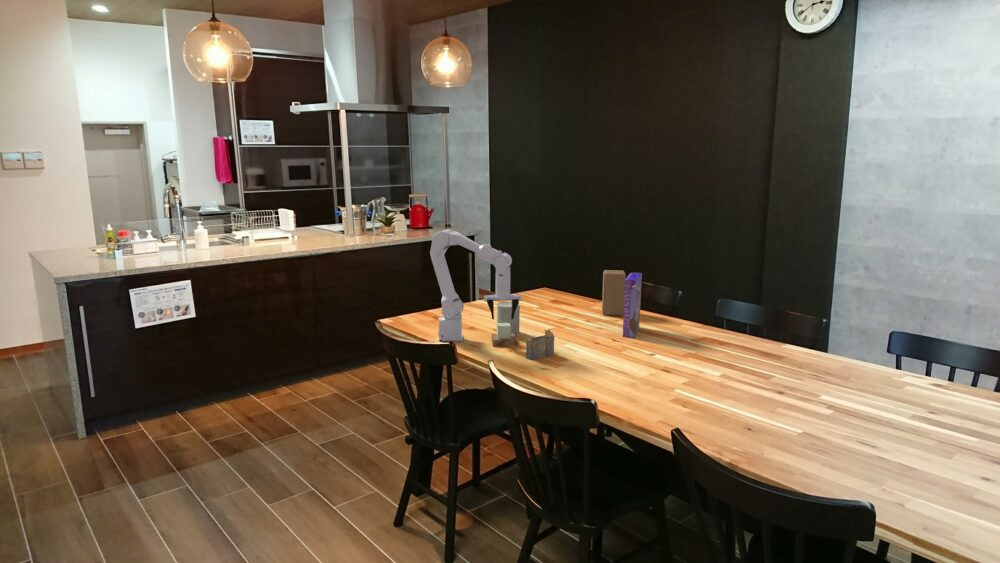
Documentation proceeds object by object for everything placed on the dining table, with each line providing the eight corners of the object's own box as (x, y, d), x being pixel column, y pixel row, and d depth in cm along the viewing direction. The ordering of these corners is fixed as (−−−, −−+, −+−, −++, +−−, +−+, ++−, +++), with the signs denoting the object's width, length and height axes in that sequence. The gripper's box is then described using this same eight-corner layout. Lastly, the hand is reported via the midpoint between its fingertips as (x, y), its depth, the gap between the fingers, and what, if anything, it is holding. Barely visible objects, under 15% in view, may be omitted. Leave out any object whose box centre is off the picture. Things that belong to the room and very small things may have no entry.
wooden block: (601, 310, 302) (603, 269, 298) (623, 311, 300) (624, 270, 297) (602, 315, 292) (603, 273, 288) (624, 316, 291) (625, 273, 287)
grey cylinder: (520, 330, 266) (521, 302, 264) (518, 336, 257) (518, 307, 255) (498, 329, 268) (498, 301, 265) (495, 335, 258) (495, 306, 256)
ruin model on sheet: (548, 353, 237) (548, 328, 235) (553, 355, 234) (554, 330, 232) (525, 359, 230) (525, 333, 228) (530, 361, 228) (531, 335, 226)
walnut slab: (492, 346, 244) (492, 340, 243) (491, 339, 253) (491, 333, 252) (515, 345, 244) (515, 339, 244) (513, 339, 253) (513, 333, 253)
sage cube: (497, 338, 245) (497, 326, 244) (496, 335, 250) (496, 323, 249) (510, 338, 246) (510, 326, 245) (509, 334, 251) (509, 322, 250)
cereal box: (634, 337, 256) (637, 280, 252) (622, 336, 258) (625, 279, 253) (639, 327, 272) (641, 272, 268) (628, 326, 274) (630, 272, 269)
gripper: (484, 286, 240) (484, 321, 242) (522, 286, 241) (522, 320, 243) (483, 283, 246) (483, 316, 249) (520, 283, 247) (520, 316, 250)
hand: (502, 318), depth 247 cm, fingers open, 7 cm apart
